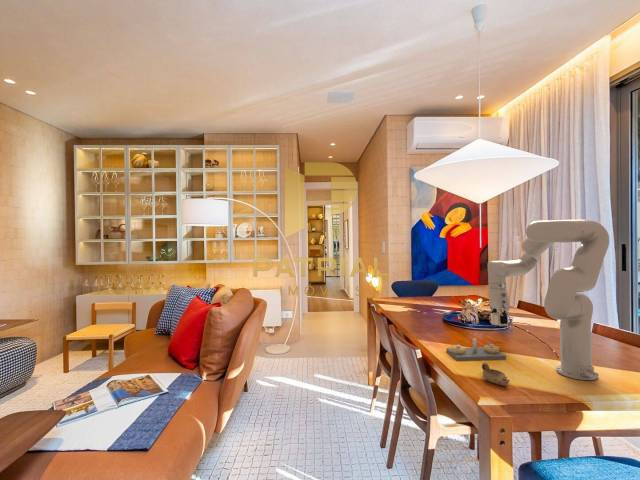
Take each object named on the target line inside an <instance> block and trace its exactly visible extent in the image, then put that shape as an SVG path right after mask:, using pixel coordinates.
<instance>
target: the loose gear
mask: <svg viewBox="0 0 640 480" xmlns="http://www.w3.org/2000/svg"><path fill="white" fill-rule="evenodd" d="M500 316H501V314H500V312H498V313H490V323H491V325H494V326H499V327H501V326H502V327H503V326H508V325H509V323H508V324H501V323H500ZM507 319H508V320H509V316H507Z"/></svg>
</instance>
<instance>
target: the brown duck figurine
mask: <svg viewBox="0 0 640 480" xmlns="http://www.w3.org/2000/svg"><path fill="white" fill-rule="evenodd" d="M481 368H482V375H483V378H484V380H486V381H487V382H489V383H493V384H495V385H498V386H503V387H504V386H507V385H508V384H509V383H510V379H507V378H508V376H506V374H505V373H504V372H502V371H500V370H497V369H492V368H490V366H489V364H488V363H487V362H482V364H481Z"/></svg>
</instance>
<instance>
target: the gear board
mask: <svg viewBox="0 0 640 480" xmlns="http://www.w3.org/2000/svg"><path fill="white" fill-rule="evenodd" d="M477 340H478V339H477V338H472V347H471V346H470V347H465V346H462V345H461V344H456V345H453V346H452V345H451V347H447V348H446V352H447V353H448V354H449V355H450V356H451V357H452V358H453V359H454V360H456V361H458V362H459V360H460V361H489V360H490V361H492V360H507V355H506V354H504V353H503V352H501V351H500V347H499V346H497V345H494V343H491V341H490V340H488V341H487V344H485V345H484V346H478V345H477V343H478V342H477Z"/></svg>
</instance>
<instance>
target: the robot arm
mask: <svg viewBox="0 0 640 480" xmlns="http://www.w3.org/2000/svg"><path fill="white" fill-rule="evenodd" d="M525 235H526V238H525V239H524V240H523V241H522V242H521V249H522V250H523V251H524V254H522V256H521V257H520V258H518V259H515V260H490V261H488V262H487V274H488V275H487V277H488V279H487V280H488V291H489V293H488V297H489V302H488V305H489V309H490V312H491V313H500V314H501V316H500V323H501V324H508V325H509V318H508V319H507V316H508V315H509V311H510V301H509V295H508V291H507V279H506V278H513V277H519V276H520V277H521V276H524V275H526V274H528V273H530V271H532V270H533V269H534V268H536V266H537V265H538V263H539V260H540V258H541V257H540V256H541V255H542V254H544V252H546V251H547V250H548V249H549V248H550V247H551V246H553V244H555V243H564V244H565V243H580V246H579V247H578V248H577V250H576V251H575V253H574V256H573V259H572V262H571V265H570V266H569V267H563V268H562V267H561V268H559V269H558V270H556V271H554V273H553V274H552V276H551V277H550V280H549V283H548V287H547V290H546V294H545V298H544V303H543V307H544V310H545V312H546V314H547V315H548V316H549V317H550V318H551V319H554V320H560V322H559V340H560V341H559V342H560V343H559V347H560V365H557V366H556V372H557V373H559V374H560V375H562V376H564V377H567V378H571V379H575V380H581V381H594V380H597V379H598V378H599V375H600V374H599V373H598V372H596V371H595V367H594V366H593V357H592V355H593V353H592V350H593V349H592V330H591V329H592V320H593V319H592V318H593V314H594V304H593V302H592V300H591V299H590V297H589V296H587V295H586V294H584V293H585V292H589V291H592V290H593V289H594V288H596V285H597V283H598V279H599V277H600V273H601V270H602V267H603V264H604V260H605V257H606V254H607V251H608V250H609V245H610V234H609V232H608V230H607V229H606V228H605V227H604V225H602V224H601V223H599V222H597V221H595V220H592V219H585V218H584V219H557V220H535V221H533V222H531V223H530V224H528V225H527V226H526V228H525ZM583 292H584V293H583ZM498 311H499V312H498ZM491 313H490V314H491ZM508 317H509V316H508Z"/></svg>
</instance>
